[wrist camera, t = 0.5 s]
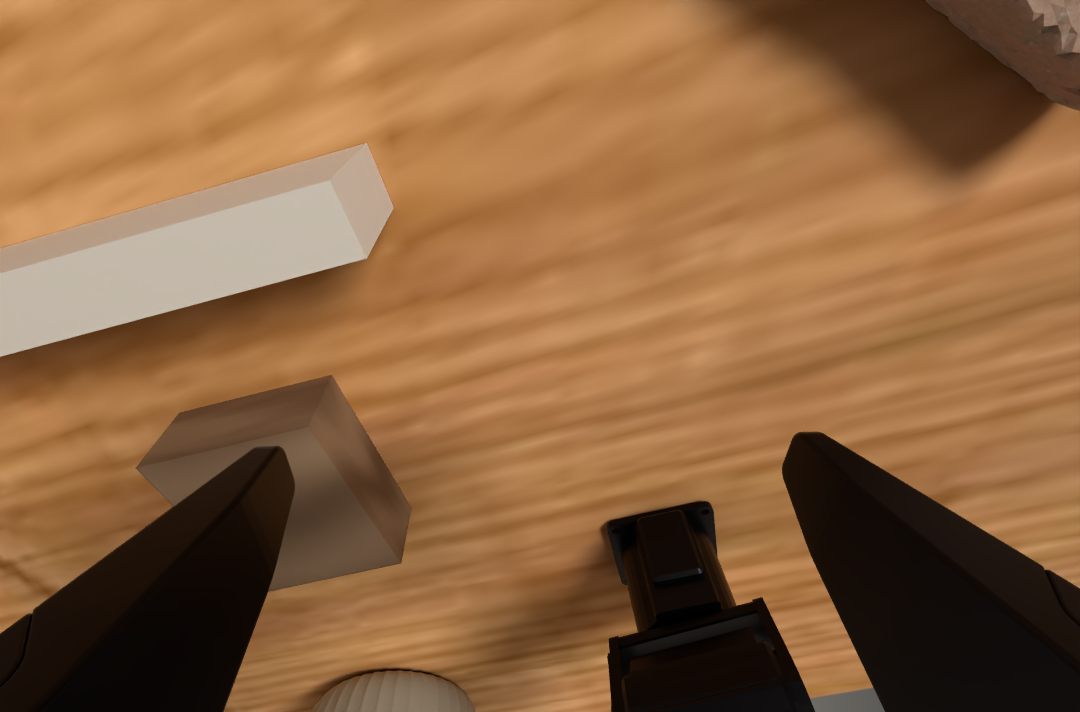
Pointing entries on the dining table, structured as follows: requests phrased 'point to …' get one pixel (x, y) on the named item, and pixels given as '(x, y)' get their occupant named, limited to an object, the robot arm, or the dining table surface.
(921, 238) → the dining table surface
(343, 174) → the plank
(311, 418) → the walnut block
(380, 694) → the canister
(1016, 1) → the brick
